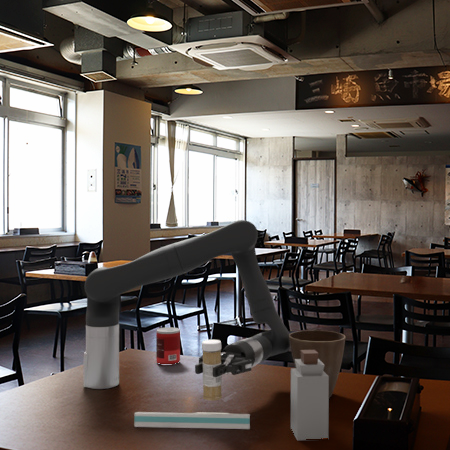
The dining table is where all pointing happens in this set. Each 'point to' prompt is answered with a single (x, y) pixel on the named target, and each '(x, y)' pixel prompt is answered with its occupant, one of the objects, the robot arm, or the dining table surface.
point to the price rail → (192, 420)
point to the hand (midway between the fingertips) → (205, 371)
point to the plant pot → (321, 350)
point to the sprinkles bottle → (211, 369)
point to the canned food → (168, 345)
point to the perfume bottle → (309, 397)
